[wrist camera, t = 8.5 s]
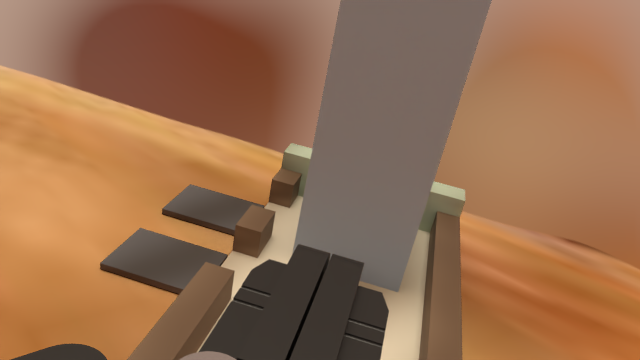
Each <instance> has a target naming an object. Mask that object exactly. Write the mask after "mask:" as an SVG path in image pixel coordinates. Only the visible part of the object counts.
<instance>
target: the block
mask: <svg viewBox="0 0 640 360" xmlns="http://www.w3.org/2000/svg"><path fill="white" fill-rule="evenodd" d="M491 1H492V0H341V2H340V7H339V12H338V18H337V23H336V28H335V33H334V38H333V44H332V49H331V54H330V60H329V65H328V70H327V75H326V80H325V86H324V91H323V96H322V101H321V107H320V112H319V117H318V122H317V128H316V133H315V138H314V143H313V148H312V154H311V159H310V164H309V169H308V175H307V180H306V185H305V190H304V196H303V201H302V206H301V211H300V217H299V222H298V227H297V232H296V238H295V243H294V248H293V252H294V251H295V249H296V247H297V245H298V244H301V245H304V246H308V247H311V248H315V249H318V250H322V251H325V252H328V253H330V258H331V256H332V254H336V255H339V256H343V257H346V258H350V259H353V260H356V261H360V262H363V263H364V267H363V271H362V274H361V278H360V281H362V282H365V283H369V284H372V285H375V286H379V287H382V288H385V289H389V290H392V291H395V292H398V291H399V288H400V285H401V282H402V279H403V275H404V272H405V269H406V266H407V263H408V260H409V257H410V254H411V250H412V247H413V244H414V241H415V238H416V235H417V232H418V229H419V225H420V222H421V219H422V216H423V213H424V210H425V207H426V204H427V200H428V197H429V194H430V191H431V188H432V185H433V182H434V179H435V175H436V172H437V169H438V166H439V163H440V160H441V156H442V153H443V150H444V147H445V144H446V141H447V138H448V135H449V131H450V129H451V125H452V122H453V119H454V116H455V113H456V110H457V107H458V103H459V100H460V97H461V94H462V91H463V88H464V85H465V82H466V79H467V75H468V72H469V69H470V66H471V63H472V60H473V57H474V54H475V50H476V47H477V44H478V41H479V38H480V35H481V32H482V29H483V25H484V22H485V19H486V16H487V13H488V10H489V7H490V4H491ZM292 254H293V253H292ZM329 261H330V260H329Z"/></svg>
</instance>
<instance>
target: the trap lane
mask: <svg viewBox="0 0 640 360" xmlns="http://www.w3.org/2000/svg"><path fill="white" fill-rule="evenodd" d="M311 154H312V149H311V148H308V147H303V146H300V145H296V144H293V143H291V144H290V145H289V147H288V148H287V149H286V150H285V151H284V155H283V161H282V167H281V169H280V170H279V172H278V173H277V174H276V175H275V177H274V178H273V179H272V184H271V190H270V197H269V202H268V204H267V205H266V206H265V208H264V206H263V205H260V204H256V203H253V202H249V201H246V200H243V199H239V198H236V197H232V196H229V195H225V194H222V193H218V192H215V191H211V190H208V189H205V188H201V187H198V186H194V185H191V184H190V185H189V186H188V187H187V188H185V189H184V190H183V191H182V192H181V193H180V194H179V195H177V196H176V197H175V198H174V199H173V200H172V201H171V202H169V203H168V204H167V205H166V206H165V207H164V208H163V209H162V214H165V215H168V216H171V217H175V218H178V219H181V220H185V221H188V222H191V223H195V224H198V225H201V226H205V227H208V228H211V229H215V230H218V231H221V232H225V233H228V234H231V235H234V242H233V250H232V252H231V253H230V255H229V256H228V255H227V254H224V253H220V252H217V251H214V250H211V249H207V248H204V247H201V246H198V245H194V244H191V243H188V242H185V241H181V240H178V239H175V238H171V237H168V236H165V235H162V234H158V233H155V232H152V231H149V230H145V229H142V228H140V229H139V230H137V231H136V232H135V233H134V234H133V235H132V236H131V237H129V238H128V239H127V240H126V241H125V242H124V243H123V244H122V245H120V246H119V247H118V248H117V249H116V250H115V251H114V252H112V253H111V254H110V255H109V256H108V257H107V258H106V259H104V260H103V261H102V262H101V263H100V269H103V270H106V271H109V272H112V273H115V274H118V275H121V276H124V277H127V278H131V279H134V280H137V281H140V282H143V283H146V284H149V285H152V286H155V287H158V288H162V289H165V290H168V291H171V292H174V293H177V294H180V295H179V296H178V297H177V298H176V300H175V301H174V302H173V303H172V304H171V306H170V307H169V308H168V309H167V311H166V312H165V313H164V314H163V316H162V317H161V318H160V319H159V321H158V322H157V323H156V324H155V326H154V327H153V328H152V329H151V331H150V332H149V333H148V334H147V336H146V337H145V338H144V339H143V341H142V342H141V343H140V344H139V345H138V347H137V348H136V349H135V350H134V352H133V353H132V354H131V355H130V357H129V358H128V359H127V360H179V359H181V358H183V357H185V356H187V355H190V354H192V353H197V352H199V350H200V349H201V347H202V346H203V344H204V343H205V341H206V340H207V338H208V337H209V335H210V333H211V332H212V330H213V329H214V327H215V326H216V324H217V323H218V321H219V319H220V318H221V316H222V315H223V313H224V312H225V310H226V309H227V307H228V305H229V304H230V302H231V301H233V298H234V296H235V295H236V293H237V291H238V290H239V288H241V286H242V284H243V282H244V281H245V279H246V278H247V276H248V274H249V273H250V271H251V270H252V269H253V268H255V267H257V266H258V265H260V264H262V263H263V262H265V261H267V260H268V259H271V260H274V261H278V262H281V263H284V264H288V262H289V260H290V258H291V256H292V253H293V248H294V243H295V238H296V232H297V227H298V222H299V217H300V211H301V206H302V201H303V196H304V190H305V185H306V180H307V175H308V169H309V164H310V159H311ZM464 203H465V190H464V189H460V188H456V187H453V186H449V185H445V184H441V183H438V182H433V185H432V188H431V191H430V194H429V197H428V200H427V204H426V207H425V210H424V213H423V216H422V219H421V222H420V225H419V229H418V232H417V235H416V238H415V241H414V244H413V247H412V250H411V254H410V257H409V260H408V263H407V266H406V269H405V272H404V275H403V279H402V282H401V285H400V288H399V291H398V292H395V291H392V290H389V289H385V288H382V287H379V286H375V285H372V284H369V283H365V282H362V281H360V282H359V286H362V287H365V288H369V289H372V290H375V291H379V292H382V293H383V296H384V299H385V301H386V304H387V307H388V310H389V314H388V319H387V325H386V330H385V336H384V342H383V346H382V353H381V359H380V360H462V319H461V267H460V215H461V212H462V209H463V206H464ZM227 256H228V257H227Z"/></svg>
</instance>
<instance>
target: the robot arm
mask: <svg viewBox="0 0 640 360" xmlns="http://www.w3.org/2000/svg"><path fill="white" fill-rule="evenodd" d="M329 260H330V261H329ZM363 267H364V263H363V262H360V261H356V260H353V259H350V258H346V257H343V256H339V255H336V254H332V256H331V258H330V253H328V252H325V251H322V250H318V249H315V248H311V247H308V246H304V245H301V244H298V245H297V247H296V249H295V251H294V252H293V254H292V256H291V258H290V260H289V262H288V264H284V263H281V262H278V261H274V260H271V259H268V260H267V261H265V262H263V263H262V264H260V265H258V266H257V267H255V268H253V269H252V270H251V271H250V273H249V274H248V276H247V278H246V279H245V281H244V282H243V284H242V286H241V288H239V290H238V291H237V293H236V295H235V296H234V298H233V301H231V302H230V304H229V305H228V307H227V309H226V310H225V312H224V313H223V315H222V316H221V318H220V319H219V321H218V323H217V324H216V326H215V327H214V329H213V330H212V332H211V333H210V335H209V337H208V338H207V340H206V341H205V343H204V344H203V346H202V347H201V349H200V350H199V352H197V353H192V354H190V355H187V356H185V357H183V358H181V359H179V360H380V359H381V353H382V346H383V342H384V336H385V330H386V325H387V319H388V314H389V310H388V307H387V304H386V301H385V299H384V296H383V293H382V292H379V291H375V290H372V289H369V288H365V287H362V286H359V282H360V278H361V274H362V271H363ZM11 360H107V359H106V357H105V356H104V355H103V354H102V353H101V352H100V351H98V350H96V349H95V348H92V347H90V346H86V345H82V344H62V345H56V346H52V347H49V348H45V349H42V350H39V351H36V352H33V353H30V354H27V355H24V356H21V357H17V358H14V359H11Z"/></svg>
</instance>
